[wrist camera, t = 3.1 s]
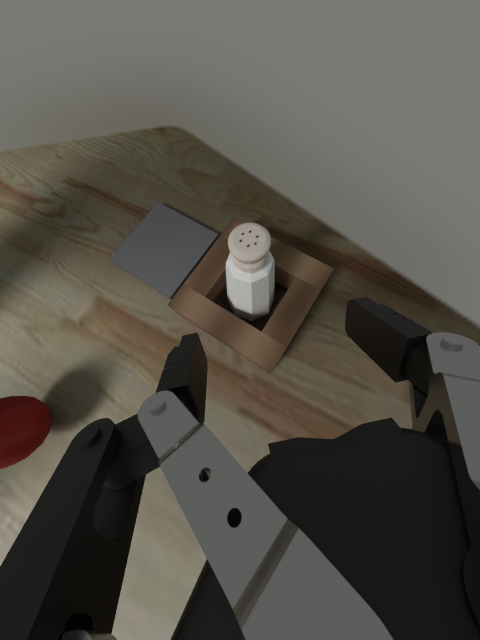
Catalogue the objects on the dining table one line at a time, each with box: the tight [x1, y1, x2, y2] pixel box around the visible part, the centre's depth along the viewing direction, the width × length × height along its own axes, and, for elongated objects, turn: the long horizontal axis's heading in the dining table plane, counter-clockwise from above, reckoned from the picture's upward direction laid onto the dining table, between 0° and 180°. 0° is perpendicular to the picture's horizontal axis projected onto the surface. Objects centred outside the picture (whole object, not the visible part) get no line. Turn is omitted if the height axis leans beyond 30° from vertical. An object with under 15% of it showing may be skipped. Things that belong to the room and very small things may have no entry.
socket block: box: [168, 218, 334, 373], centre depth 22 cm, size 12×12×4 cm
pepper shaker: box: [226, 223, 275, 321], centre depth 18 cm, size 5×5×11 cm
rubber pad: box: [109, 202, 219, 299], centre depth 25 cm, size 10×10×1 cm
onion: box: [0, 396, 52, 469], centre depth 17 cm, size 6×6×8 cm
